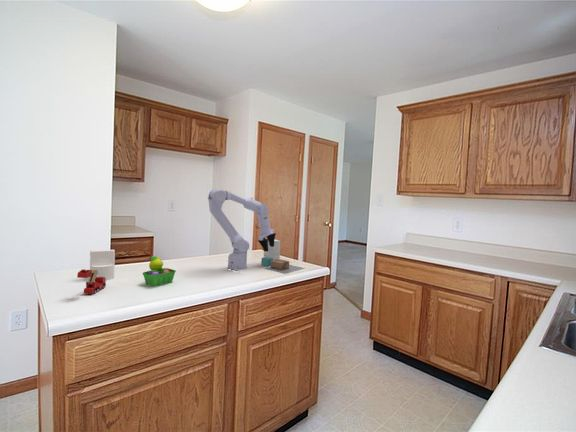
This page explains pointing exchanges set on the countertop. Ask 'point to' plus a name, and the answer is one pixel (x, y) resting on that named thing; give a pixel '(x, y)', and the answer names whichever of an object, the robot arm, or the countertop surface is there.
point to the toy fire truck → (92, 281)
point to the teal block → (266, 261)
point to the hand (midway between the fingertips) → (269, 248)
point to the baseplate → (291, 269)
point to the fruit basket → (158, 273)
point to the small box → (273, 250)
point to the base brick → (279, 264)
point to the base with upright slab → (103, 263)
